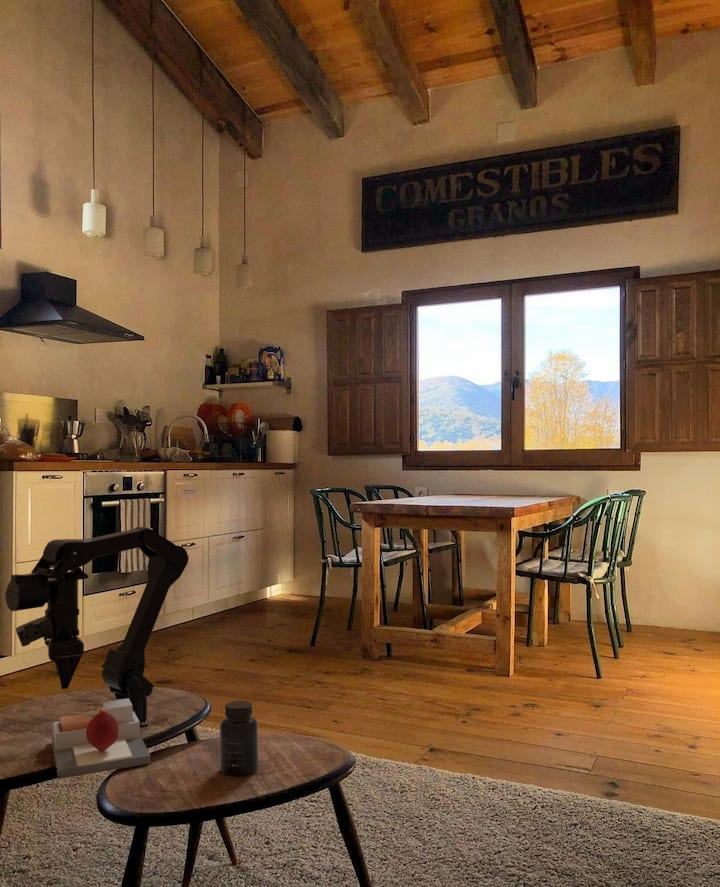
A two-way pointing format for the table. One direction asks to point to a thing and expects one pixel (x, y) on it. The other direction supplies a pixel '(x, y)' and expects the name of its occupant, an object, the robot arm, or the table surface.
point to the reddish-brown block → (74, 722)
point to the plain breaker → (119, 710)
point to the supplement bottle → (238, 740)
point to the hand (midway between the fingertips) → (62, 682)
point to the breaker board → (86, 759)
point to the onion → (102, 730)
